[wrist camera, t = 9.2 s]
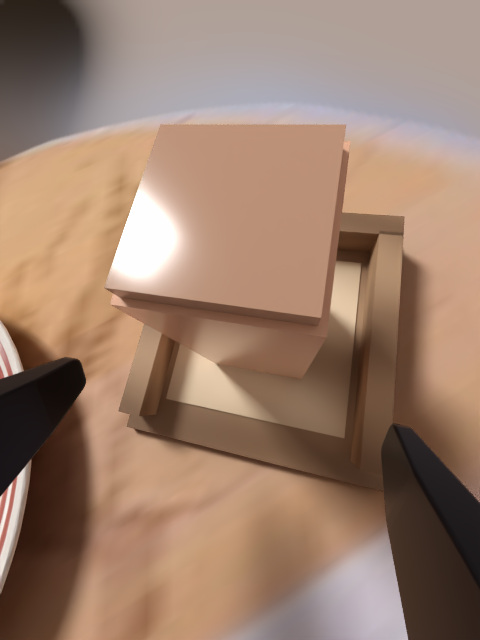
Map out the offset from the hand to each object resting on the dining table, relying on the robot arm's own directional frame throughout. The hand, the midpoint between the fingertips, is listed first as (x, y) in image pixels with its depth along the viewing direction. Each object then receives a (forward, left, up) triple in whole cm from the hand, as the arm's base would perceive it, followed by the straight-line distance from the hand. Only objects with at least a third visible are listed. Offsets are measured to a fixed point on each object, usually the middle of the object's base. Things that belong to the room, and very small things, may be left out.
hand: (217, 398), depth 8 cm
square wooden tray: (+4, -1, -9) cm, 10 cm away
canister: (+4, -1, -8) cm, 9 cm away
